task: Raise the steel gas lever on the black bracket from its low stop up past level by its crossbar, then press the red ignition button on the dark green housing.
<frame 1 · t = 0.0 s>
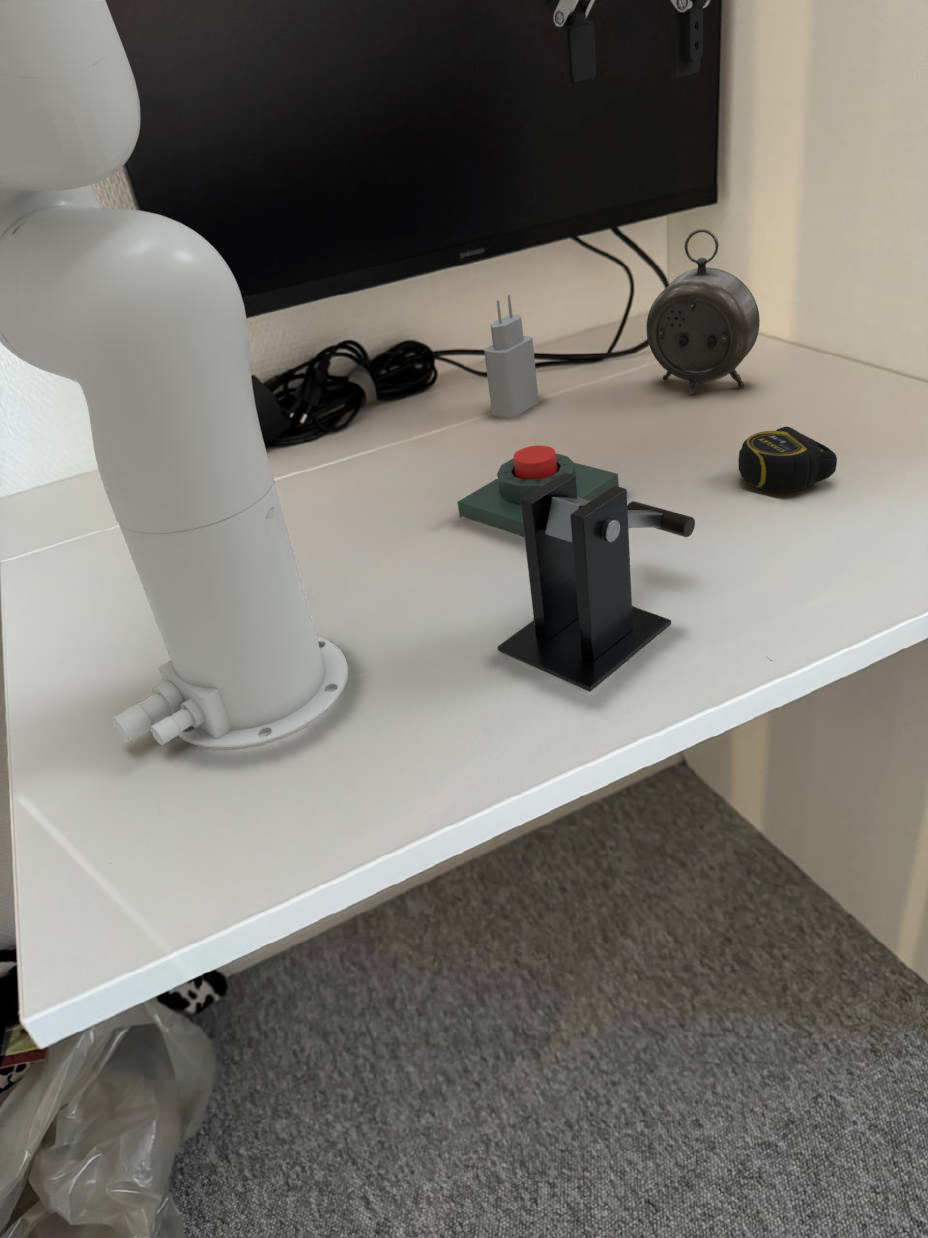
hand: (630, 78, 73), 31 cm above the table, tool pointing down, fingers open, 9 cm apart
button: (535, 463, 80), point 4 cm above the table, slide at 0.1 cm
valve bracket: (585, 647, 65), on the table
tape measure: (784, 480, 82), on the table
green switch base: (540, 510, 83), on the table
alarm clock: (699, 389, 101), on the table
lever: (616, 519, 63), point 8 cm above the table, hinge at -25.0°
power adapter: (515, 409, 104), on the table
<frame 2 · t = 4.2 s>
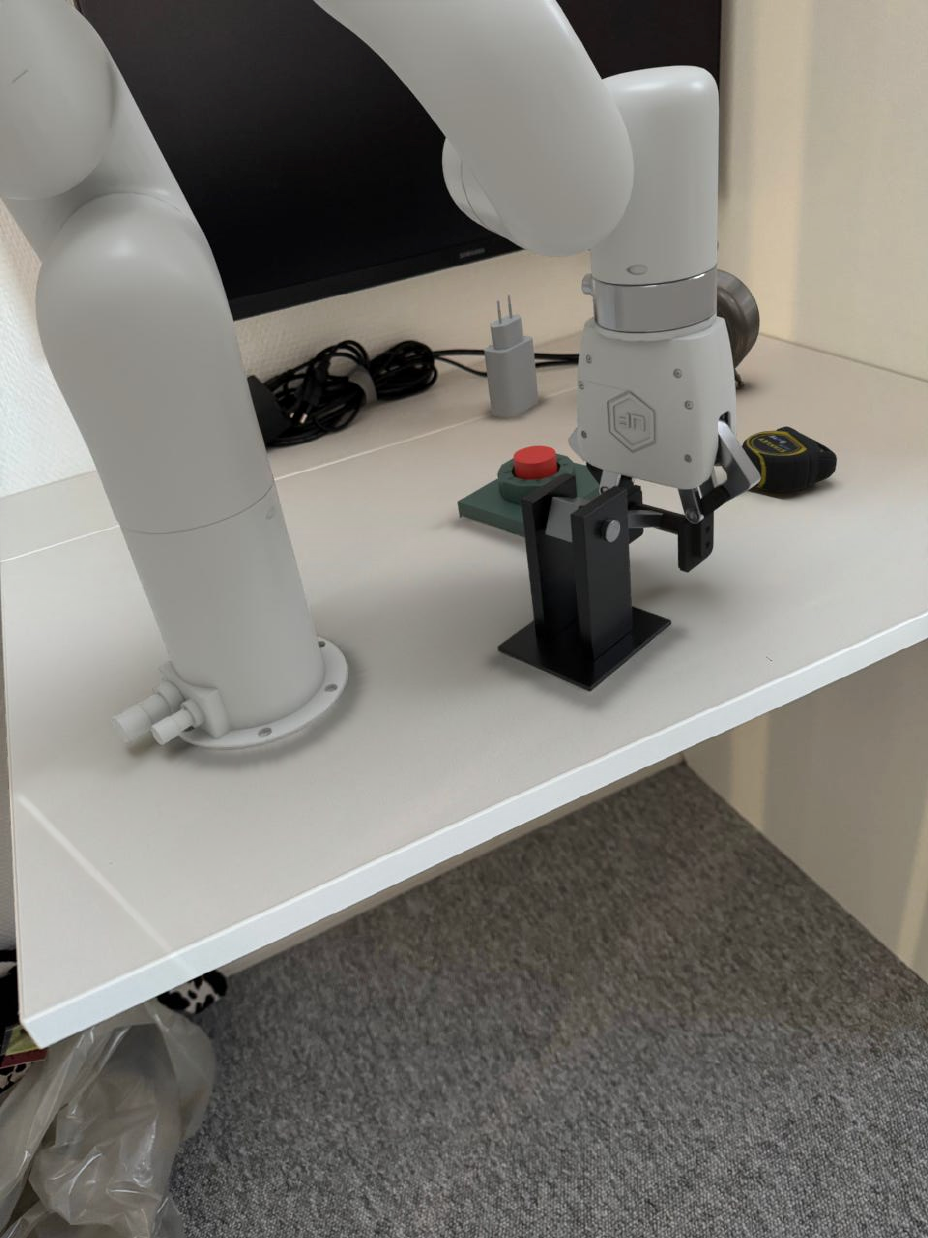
hand: (660, 550, 68), 3 cm above the table, tool pointing down, fingers closed on lever, 5 cm apart
lever: (616, 519, 63), point 8 cm above the table, hinge at -25.0°, touching gripper
everything else where it was.
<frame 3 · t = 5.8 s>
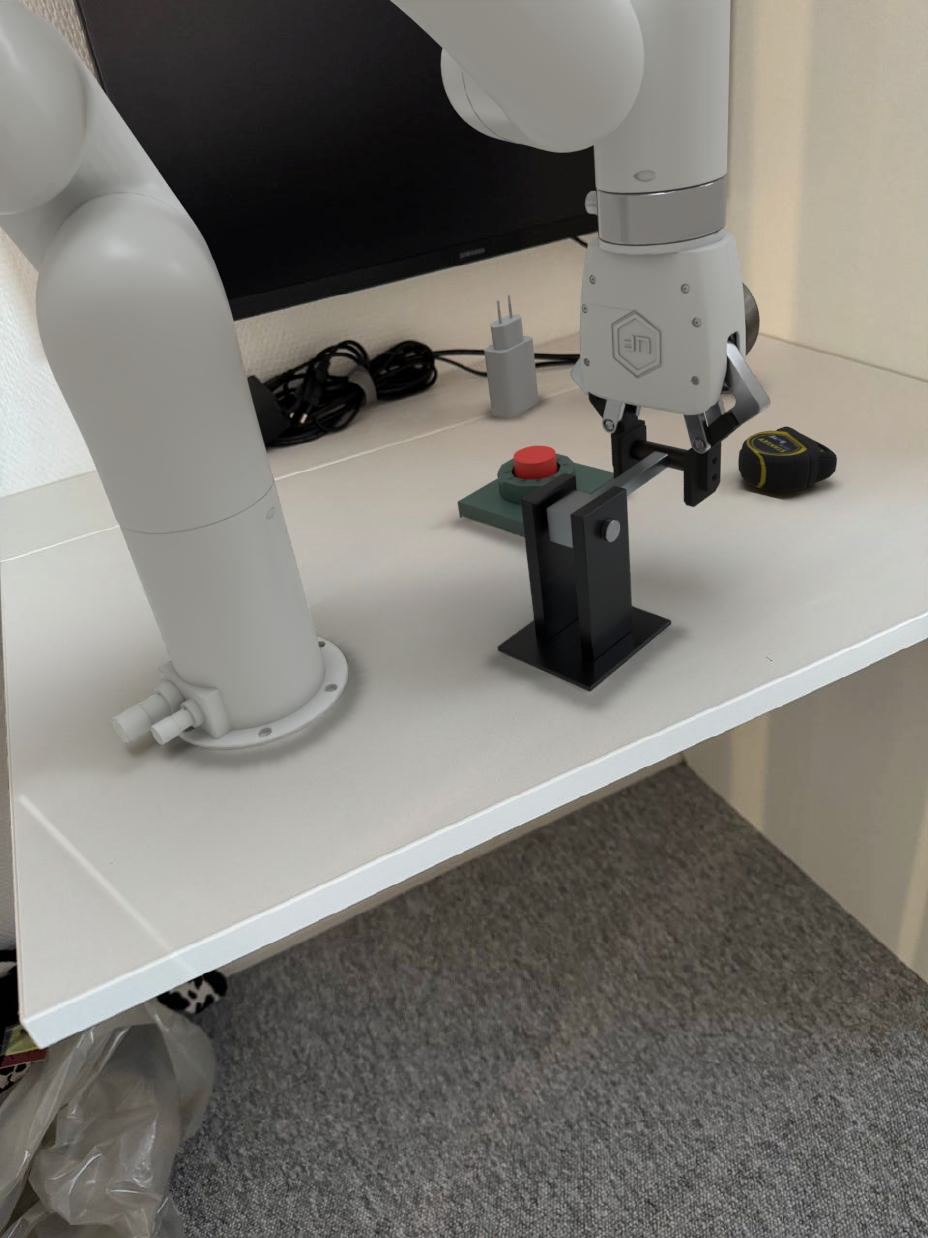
hand: (664, 486, 66), 8 cm above the table, tool pointing down, fingers closed on lever, 5 cm apart
lever: (619, 488, 62), point 10 cm above the table, hinge at 1.3°, touching gripper
everything else where it was.
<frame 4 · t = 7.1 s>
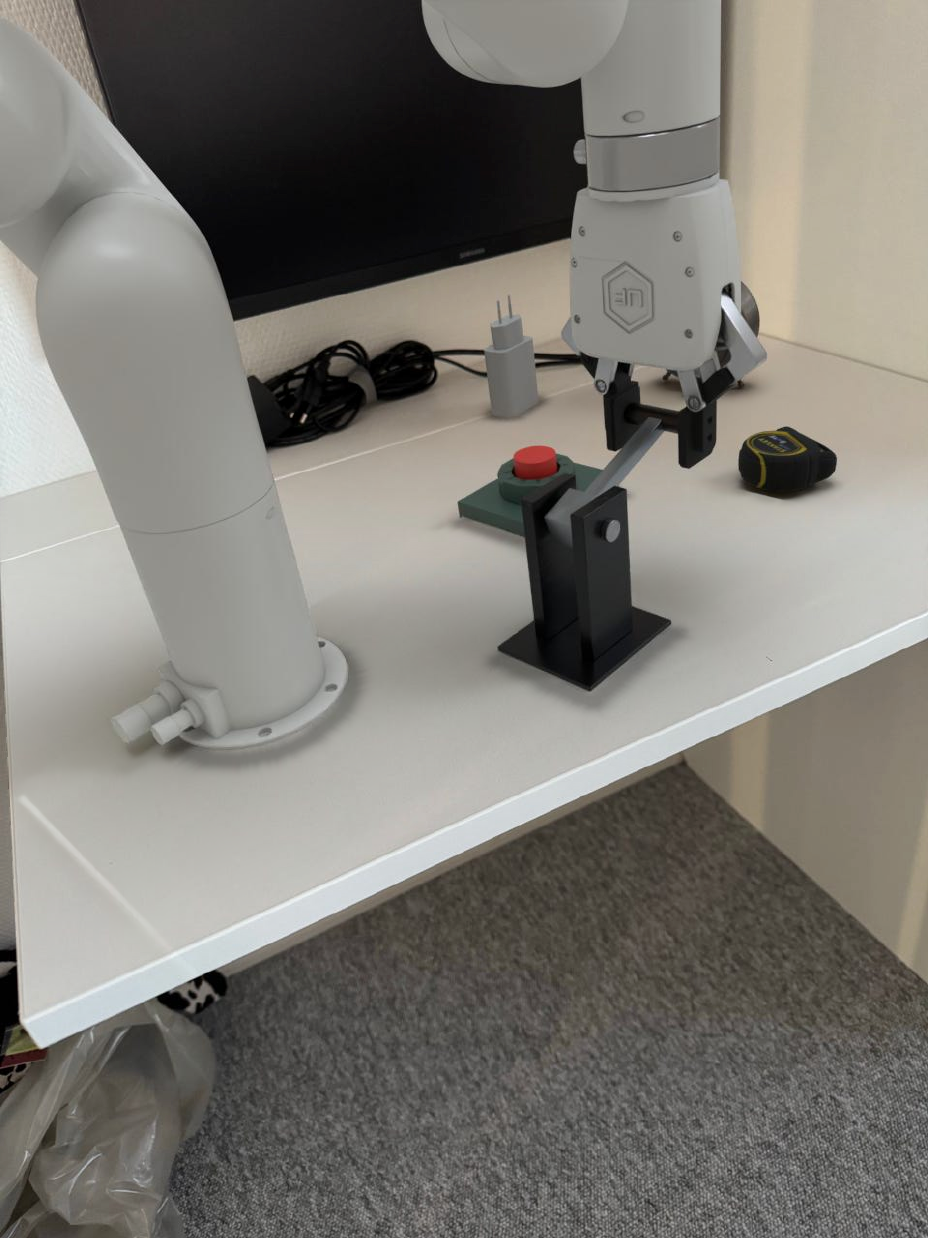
hand: (659, 449, 64), 11 cm above the table, tool pointing down, fingers closed on lever, 5 cm apart
lever: (616, 471, 61), point 11 cm above the table, hinge at 18.2°, touching gripper
everything else where it was.
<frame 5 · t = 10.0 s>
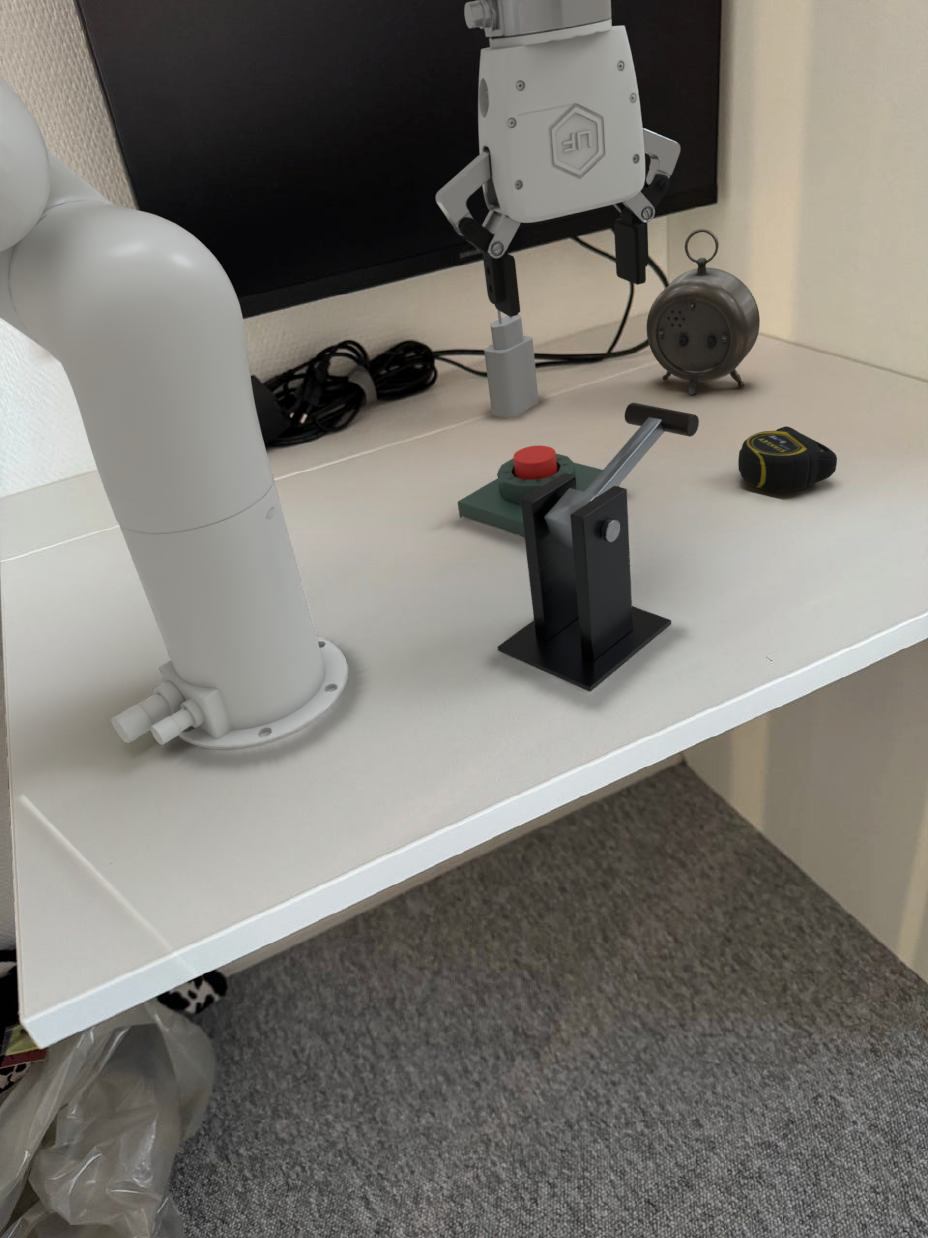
hand: (570, 295, 67), 20 cm above the table, tool pointing down, fingers open, 9 cm apart
lever: (616, 471, 61), point 11 cm above the table, hinge at 18.1°
everything else where it was.
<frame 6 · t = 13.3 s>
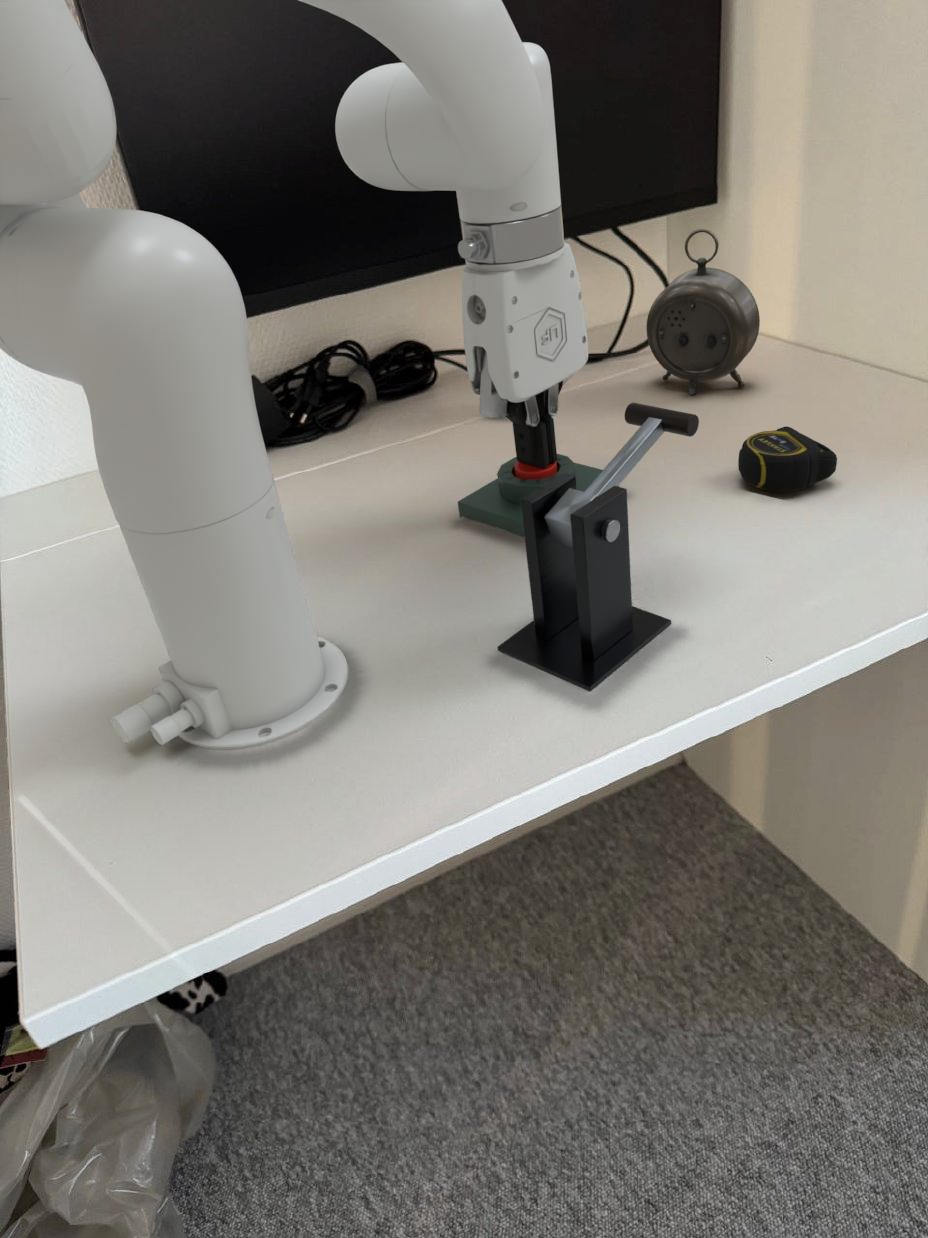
hand: (537, 461, 81), 5 cm above the table, tool pointing down, fingers closed
button: (536, 472, 81), point 4 cm above the table, slide at -0.8 cm, touching gripper
everything else where it was.
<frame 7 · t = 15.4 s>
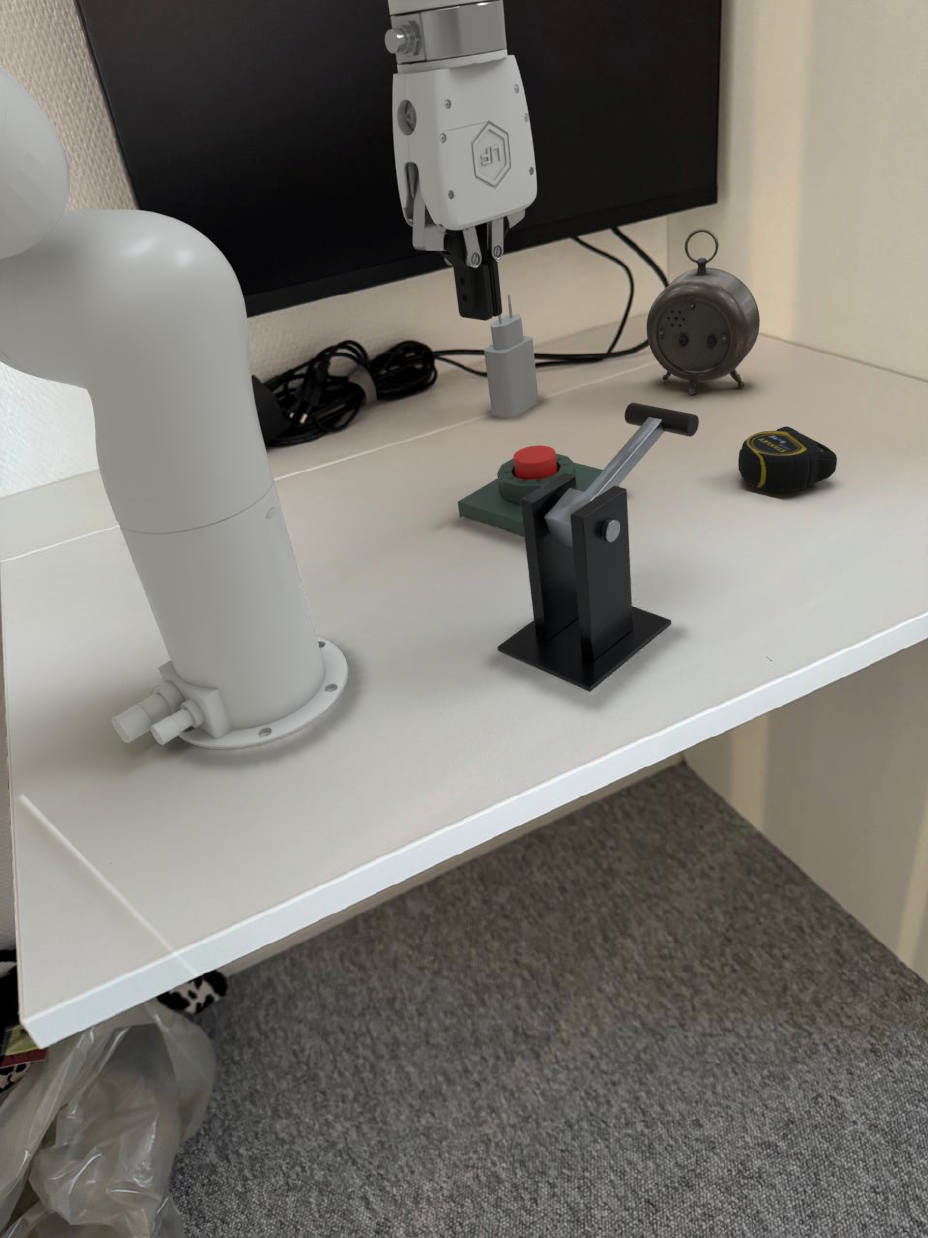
hand: (480, 315, 73), 18 cm above the table, tool pointing down, fingers closed
button: (535, 463, 80), point 4 cm above the table, slide at 0.1 cm
everything else where it was.
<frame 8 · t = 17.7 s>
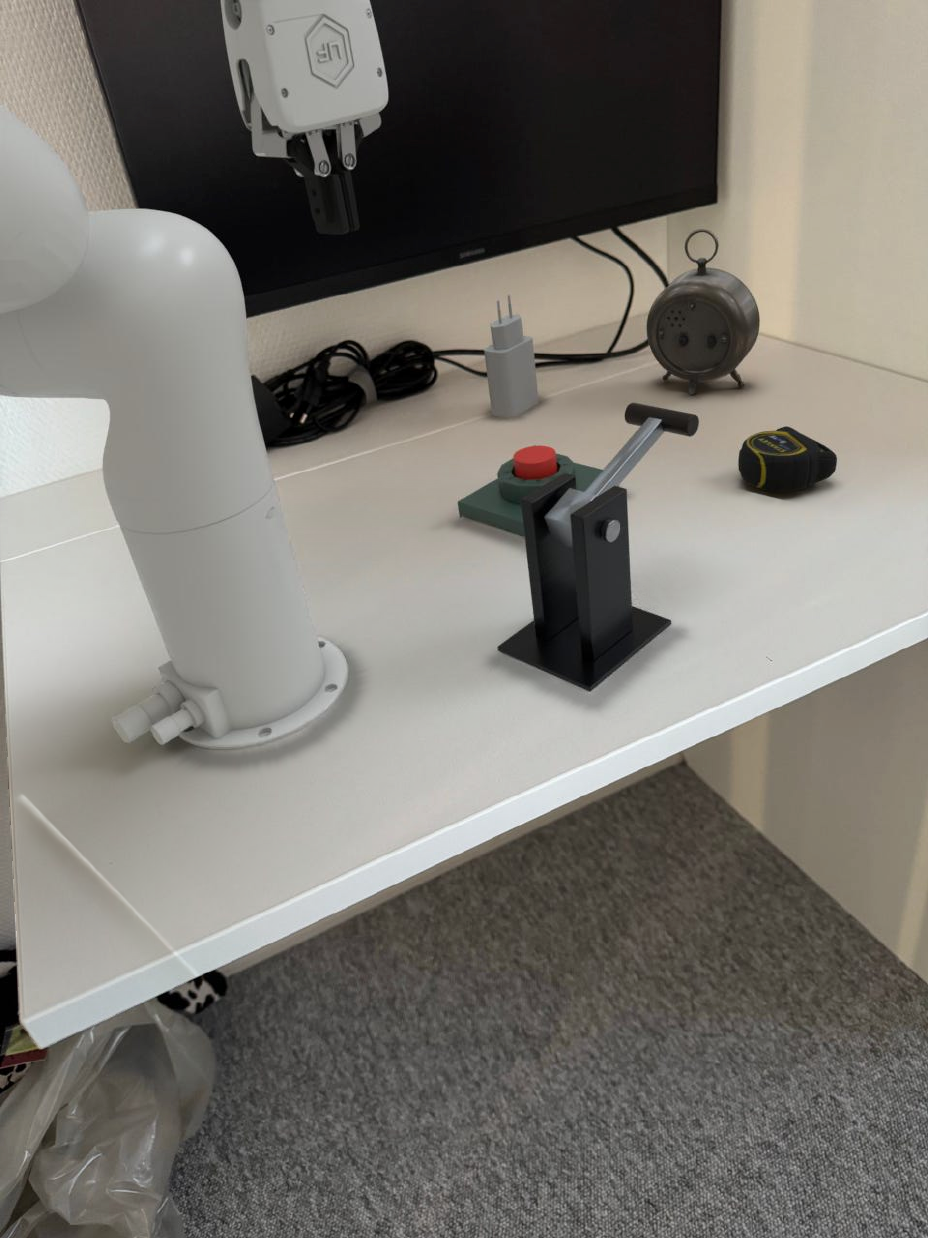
hand: (338, 230, 70), 25 cm above the table, tool pointing down, fingers closed
nothing on the table moved.
at the end: lever at +18° (first picture: -25°); button pushed in 1.1 cm at the most during the clip, back to where it started at the end; button slide at 0.1 cm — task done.
